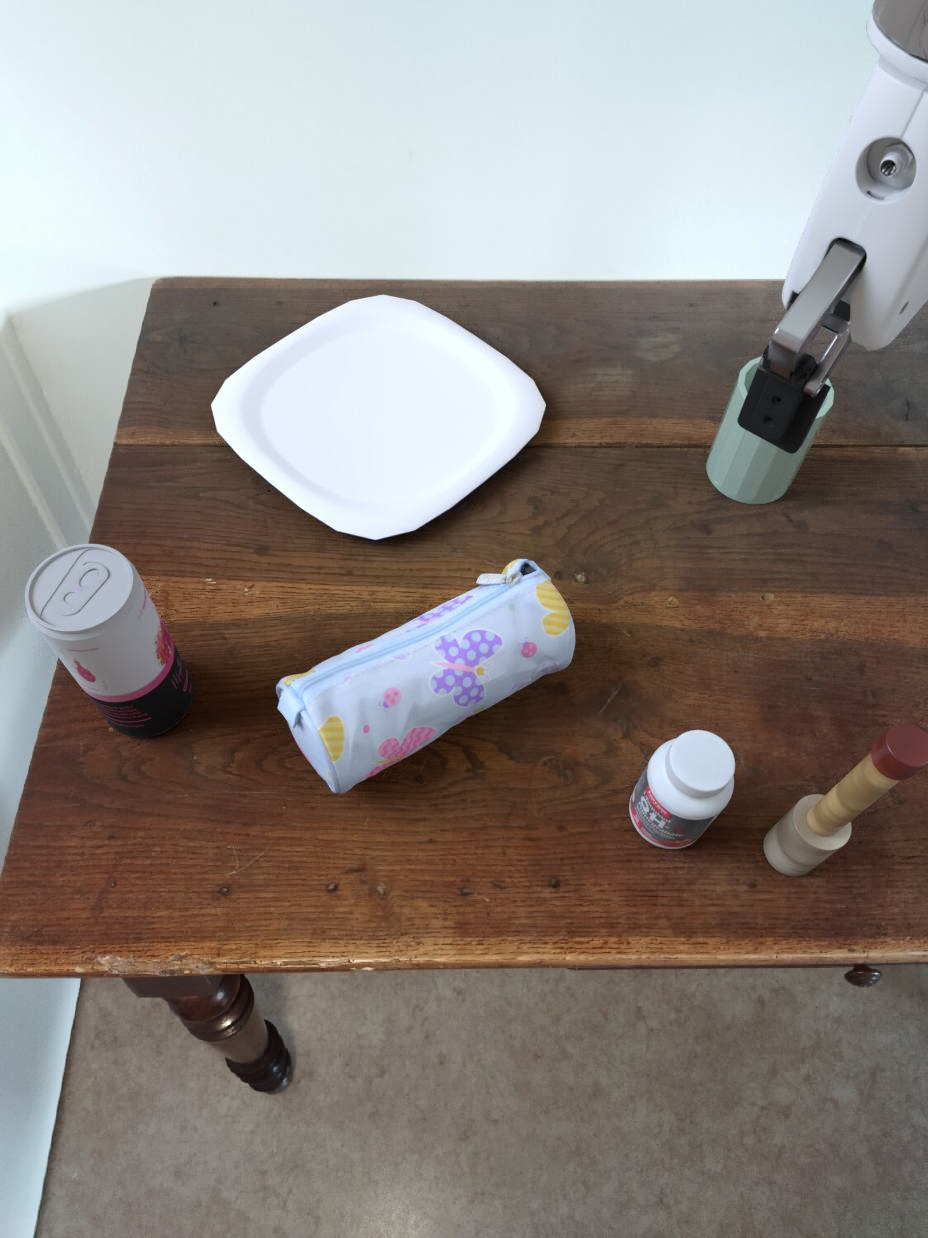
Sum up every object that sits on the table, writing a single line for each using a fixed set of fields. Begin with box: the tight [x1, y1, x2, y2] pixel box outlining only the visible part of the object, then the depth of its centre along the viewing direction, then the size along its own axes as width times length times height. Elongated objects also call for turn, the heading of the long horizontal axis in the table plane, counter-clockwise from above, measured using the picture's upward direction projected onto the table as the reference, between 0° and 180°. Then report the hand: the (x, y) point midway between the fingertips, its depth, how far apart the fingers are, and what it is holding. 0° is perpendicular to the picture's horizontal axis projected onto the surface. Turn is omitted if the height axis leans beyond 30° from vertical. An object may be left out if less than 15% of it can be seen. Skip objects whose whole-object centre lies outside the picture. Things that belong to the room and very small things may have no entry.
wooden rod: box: [763, 722, 928, 878], centre depth 52 cm, size 4×4×18 cm
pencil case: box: [275, 558, 576, 795], centre depth 61 cm, size 21×9×10 cm, turn 123°
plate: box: [210, 294, 547, 542], centre depth 79 cm, size 25×25×2 cm
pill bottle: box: [628, 729, 736, 850], centre depth 57 cm, size 5×5×10 cm
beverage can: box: [24, 543, 195, 738], centre depth 58 cm, size 7×6×15 cm
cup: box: [705, 355, 835, 505], centre depth 74 cm, size 7×7×10 cm
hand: (815, 381), depth 44 cm, fingers open, 9 cm apart
